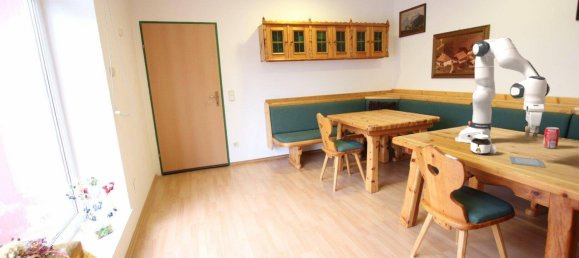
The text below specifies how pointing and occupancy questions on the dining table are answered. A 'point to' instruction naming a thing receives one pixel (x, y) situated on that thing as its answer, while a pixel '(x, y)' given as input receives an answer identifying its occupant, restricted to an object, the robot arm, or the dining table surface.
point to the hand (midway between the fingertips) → (531, 131)
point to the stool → (527, 131)
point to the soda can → (551, 137)
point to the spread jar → (482, 145)
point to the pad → (526, 161)
